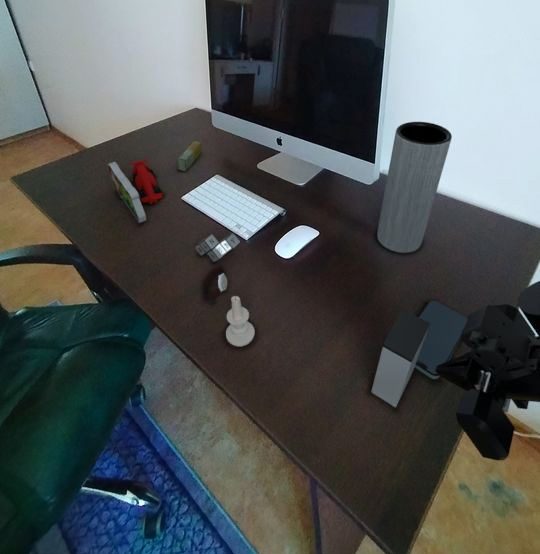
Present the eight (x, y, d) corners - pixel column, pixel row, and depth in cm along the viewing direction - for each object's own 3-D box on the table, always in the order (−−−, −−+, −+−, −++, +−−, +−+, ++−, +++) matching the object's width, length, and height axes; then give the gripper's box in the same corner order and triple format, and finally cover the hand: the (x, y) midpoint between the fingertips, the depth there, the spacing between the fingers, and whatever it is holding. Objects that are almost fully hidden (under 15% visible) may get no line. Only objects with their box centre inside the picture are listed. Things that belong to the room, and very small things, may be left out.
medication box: (186, 171, 114) (185, 160, 111) (178, 170, 114) (176, 159, 112) (201, 152, 123) (201, 142, 120) (194, 151, 123) (193, 140, 121)
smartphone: (472, 319, 66) (438, 378, 57) (469, 325, 67) (435, 384, 58) (431, 297, 71) (393, 349, 62) (428, 302, 72) (391, 354, 63)
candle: (238, 317, 70) (233, 279, 64) (260, 330, 67) (257, 293, 61) (220, 337, 67) (212, 299, 60) (242, 352, 64) (236, 314, 58)
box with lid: (412, 372, 60) (430, 322, 52) (395, 407, 56) (412, 359, 48) (389, 358, 62) (403, 309, 54) (371, 392, 58) (383, 343, 50)
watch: (222, 303, 73) (219, 291, 71) (199, 301, 73) (196, 289, 71) (231, 274, 79) (229, 262, 77) (209, 272, 79) (207, 260, 77)
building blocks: (208, 265, 84) (225, 256, 78) (193, 246, 83) (209, 236, 77) (223, 251, 87) (240, 242, 81) (209, 233, 87) (225, 223, 81)
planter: (412, 223, 90) (438, 119, 74) (428, 252, 82) (462, 142, 66) (371, 226, 90) (389, 122, 74) (384, 255, 82) (406, 145, 66)
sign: (148, 224, 94) (138, 191, 88) (141, 226, 93) (131, 194, 87) (120, 186, 108) (110, 156, 102) (114, 188, 108) (104, 158, 102)
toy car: (143, 207, 99) (138, 192, 96) (132, 177, 112) (128, 162, 109) (165, 201, 101) (161, 186, 98) (152, 172, 114) (148, 157, 111)
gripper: (541, 262, 44) (428, 282, 56) (510, 386, 33) (375, 378, 45) (589, 335, 45) (467, 339, 57) (576, 481, 33) (426, 448, 46)
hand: (437, 370), depth 51 cm, fingers closed
